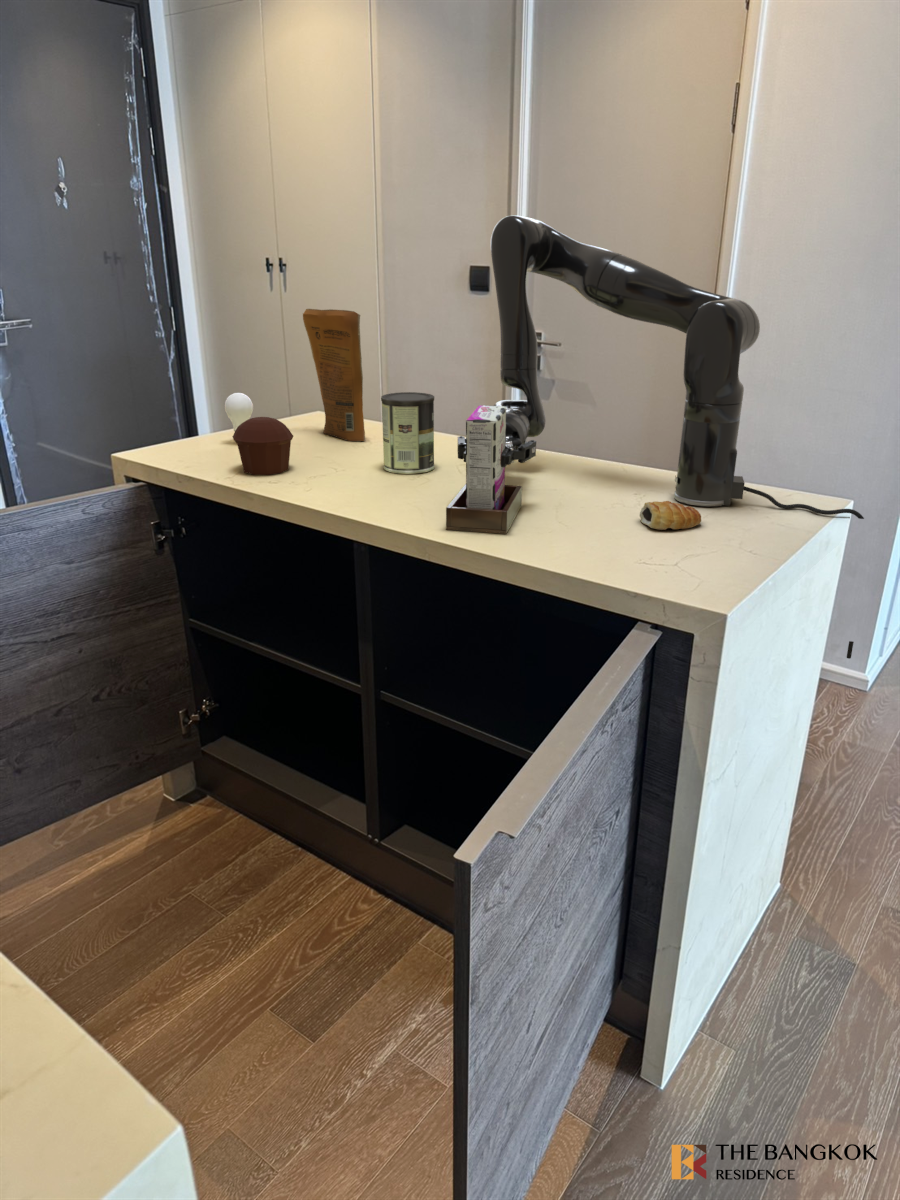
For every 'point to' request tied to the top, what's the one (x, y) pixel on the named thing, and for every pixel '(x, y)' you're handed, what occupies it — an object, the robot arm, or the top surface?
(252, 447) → the muffin
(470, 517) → the open box
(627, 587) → the top surface
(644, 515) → the pastry
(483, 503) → the candy bar box
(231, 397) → the lightbulb
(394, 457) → the coffee can
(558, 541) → the top surface
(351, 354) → the pancake mix bag
